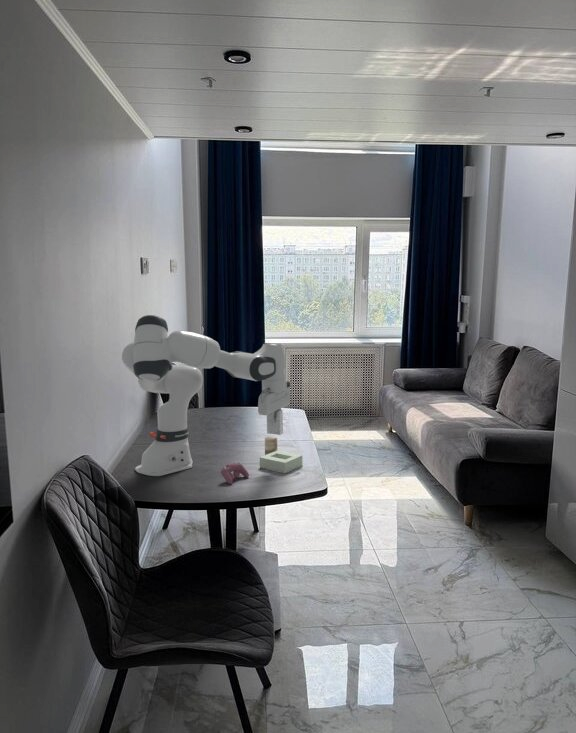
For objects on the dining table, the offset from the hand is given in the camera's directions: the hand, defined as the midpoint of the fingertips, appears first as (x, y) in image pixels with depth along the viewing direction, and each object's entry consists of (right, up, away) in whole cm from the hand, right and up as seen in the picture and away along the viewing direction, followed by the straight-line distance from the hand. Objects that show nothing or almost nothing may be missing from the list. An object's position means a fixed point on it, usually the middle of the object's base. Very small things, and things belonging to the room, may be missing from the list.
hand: (274, 421), depth 224 cm
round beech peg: (-2, -16, +12) cm, 20 cm away
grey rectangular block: (0, -5, +1) cm, 5 cm away
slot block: (+2, -17, +1) cm, 18 cm away
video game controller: (-14, -20, -12) cm, 27 cm away
